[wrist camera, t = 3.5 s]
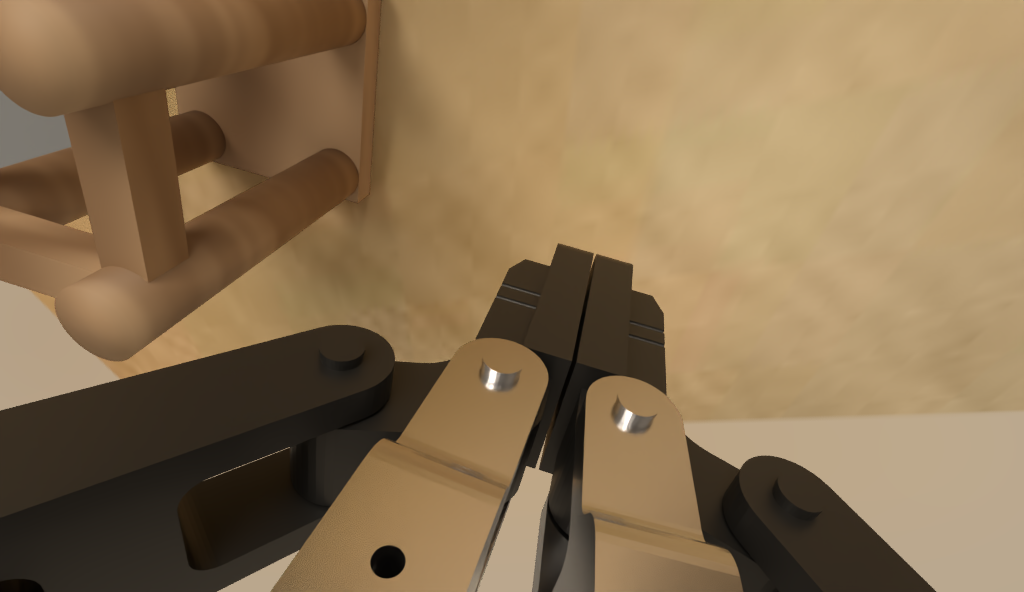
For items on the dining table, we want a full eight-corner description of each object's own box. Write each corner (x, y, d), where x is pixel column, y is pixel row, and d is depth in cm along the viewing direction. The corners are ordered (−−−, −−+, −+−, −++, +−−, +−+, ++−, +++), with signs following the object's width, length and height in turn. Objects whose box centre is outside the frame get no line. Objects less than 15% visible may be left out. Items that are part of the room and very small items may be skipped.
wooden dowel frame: (382, -14, 17) (59, 5, 8) (370, 193, 21) (142, 371, 12) (178, -65, 18) (-348, -105, 8) (202, 146, 21) (-142, 278, 12)
